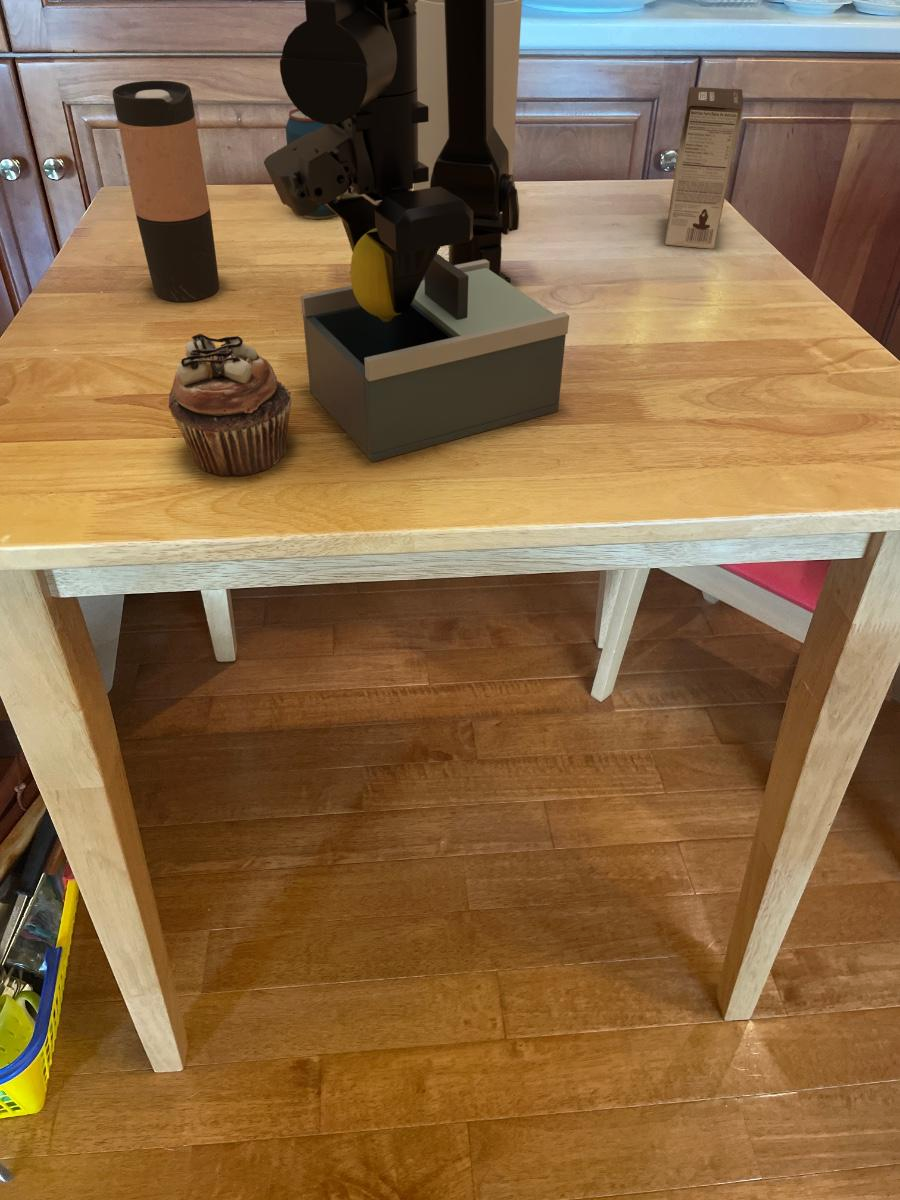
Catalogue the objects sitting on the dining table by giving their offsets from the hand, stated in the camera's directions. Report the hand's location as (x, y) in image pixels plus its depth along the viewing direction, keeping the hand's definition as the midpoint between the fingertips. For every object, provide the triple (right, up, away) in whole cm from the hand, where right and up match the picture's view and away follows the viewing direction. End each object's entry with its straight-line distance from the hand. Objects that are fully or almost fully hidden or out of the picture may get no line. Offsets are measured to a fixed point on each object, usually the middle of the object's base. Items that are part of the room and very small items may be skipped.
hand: (384, 298), depth 76 cm
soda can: (-12, +27, +47) cm, 55 cm away
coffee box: (+36, +22, +42) cm, 60 cm away
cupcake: (-12, -12, +2) cm, 18 cm away
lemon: (0, -2, +1) cm, 2 cm away
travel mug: (-24, +10, +27) cm, 37 cm away
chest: (+4, -7, +9) cm, 11 cm away
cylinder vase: (+7, +24, +44) cm, 51 cm away
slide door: (+8, +1, +5) cm, 9 cm away
